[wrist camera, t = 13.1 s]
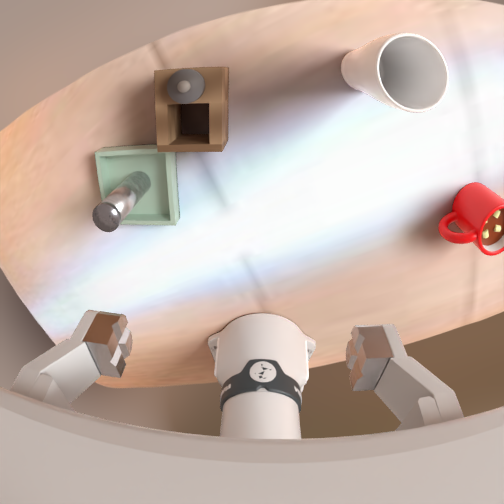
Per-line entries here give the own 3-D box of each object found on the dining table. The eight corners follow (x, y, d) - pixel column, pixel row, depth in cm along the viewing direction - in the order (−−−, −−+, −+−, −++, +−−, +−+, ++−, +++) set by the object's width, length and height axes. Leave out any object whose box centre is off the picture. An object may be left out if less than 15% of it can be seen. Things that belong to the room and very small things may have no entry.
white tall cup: (340, 100, 34) (383, 119, 22) (327, 47, 31) (365, 34, 18) (391, 93, 33) (455, 110, 20) (380, 41, 30) (441, 31, 17)
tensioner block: (228, 140, 38) (219, 156, 31) (171, 140, 38) (152, 156, 31) (228, 67, 33) (220, 66, 26) (170, 70, 33) (148, 70, 26)
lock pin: (152, 193, 41) (121, 232, 32) (130, 193, 41) (95, 231, 32) (149, 170, 39) (116, 204, 30) (127, 171, 39) (89, 204, 30)
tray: (179, 217, 43) (175, 225, 41) (112, 216, 43) (105, 224, 41) (175, 143, 38) (169, 148, 36) (103, 147, 38) (94, 152, 36)
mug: (425, 199, 40) (451, 225, 34) (488, 176, 38) (519, 197, 31) (432, 244, 44) (454, 274, 37) (491, 220, 41) (517, 245, 34)
